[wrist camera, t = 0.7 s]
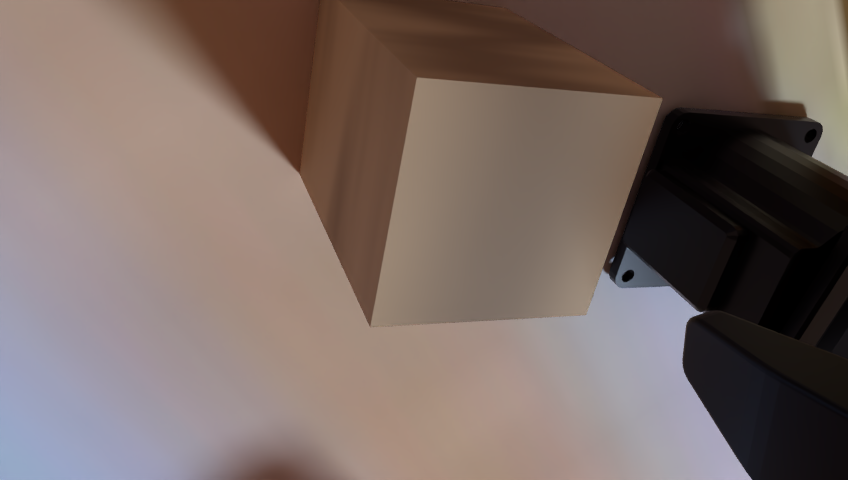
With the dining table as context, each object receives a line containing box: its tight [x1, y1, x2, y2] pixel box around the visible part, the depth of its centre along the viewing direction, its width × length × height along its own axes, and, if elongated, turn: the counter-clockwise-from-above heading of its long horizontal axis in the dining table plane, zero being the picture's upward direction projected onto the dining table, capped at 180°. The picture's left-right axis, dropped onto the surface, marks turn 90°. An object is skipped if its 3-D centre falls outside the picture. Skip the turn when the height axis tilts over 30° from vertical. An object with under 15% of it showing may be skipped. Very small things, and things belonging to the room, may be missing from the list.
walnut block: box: [300, 0, 663, 327], centre depth 17 cm, size 5×5×7 cm
